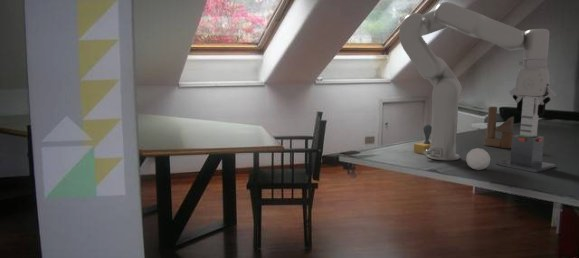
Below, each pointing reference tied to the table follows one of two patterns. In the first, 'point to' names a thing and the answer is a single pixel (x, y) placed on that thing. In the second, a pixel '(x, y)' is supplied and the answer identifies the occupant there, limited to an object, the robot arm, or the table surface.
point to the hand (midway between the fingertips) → (530, 114)
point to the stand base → (527, 154)
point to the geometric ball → (478, 159)
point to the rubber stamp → (424, 145)
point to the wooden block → (498, 130)
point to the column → (529, 117)
